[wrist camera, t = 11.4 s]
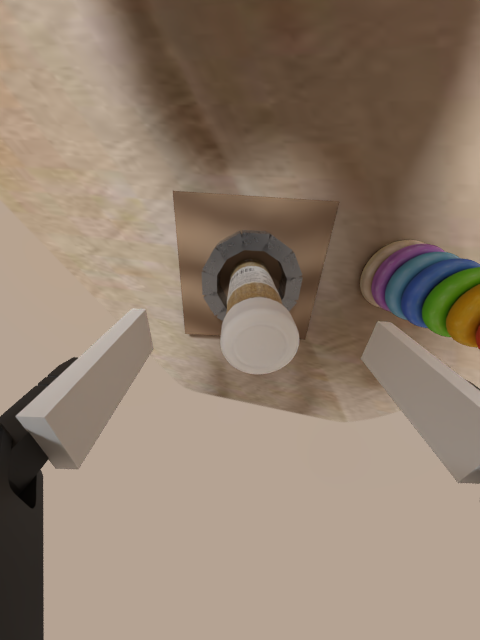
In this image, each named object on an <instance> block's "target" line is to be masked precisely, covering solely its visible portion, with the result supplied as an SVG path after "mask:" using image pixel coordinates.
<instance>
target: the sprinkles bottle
mask: <svg viewBox="0 0 480 640" xmlns="http://www.w3.org/2000/svg"><path fill="white" fill-rule="evenodd" d="M220 346H221V350H222V353H223V355H224V357H225V359H226V360H227V361H228V362H229V364H231V365H232V366H233V367H234V368H236V369H238V370H240V371H242V372H245V373H249V374H268V373H271V372H274V371H277V370H279V369H281V368H283V367H284V366H286V365H287V364H288V363H289V362H290V361H291V360H292V359H293V357H294V356H295V354H296V352H297V350H298V347H299V333H298V329H297V327H296V324H295V322H294V320H293V318H292V316H291V314H290V313H289V311H288V310H287V309H286V308H285V307H284V306H283V304H282V301H281V298H280V295H279V293H278V291H277V289H276V287H275V285H274V283H273V280H272V278H271V276H270V275H269V271H268V268H267V267H266V266H265V264H264V263H262V262H261V261H259V260H256V259H245V260H242V261H240V262H238V263H237V264H236V265H235V266H234V268H233V270H232V272H231V275H230V284H229V290H228V297H227V312H226V316H225V318H224V320H223V323H222V329H221V339H220Z"/></svg>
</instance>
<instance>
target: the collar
mask: <svg viewBox="0 0 480 640" xmlns="http://www.w3.org/2000/svg"><path fill="white" fill-rule="evenodd" d="M244 250H251V251H265V252H266V253H268V254H269V255H271V256H272V257H273V258H275V259H276V260H277V261H278V263H279V266H280V268H281V271H282V274H281V281H280V287H279V289H278V290H277V291H278V293H279V295H280V298H281V301H282V304H283V306H284V307H285V308H286V309H287V310H288V311H290V310H291V309H292V308H293V306H294V305H295V304H296V303H297V302H296V300H298V298H299V293H300V289H301V284H302V279H303V278H302V272H301V269H300V267H299V264H298V261H297V259H296V256H295V253H294V252H293V250H292V249H290V248H289V247H288V246H286V245H285V244H284V243H282V242H281V241H280V240H278V239H277V238H276V237H274V236H273V235H271V234H270V233H269V232H268V233H267V232H266V231H255V230H242V234H241V232H240V231H238V232H236V233H234V234H232V235H231V236H229V237H227V238H225V239H223V240H222V241H220V242H219V243H218V244H217V245H216V247H215V248H214V250H213V251H212V253H211V255H210V257H209V259H208V260H207V262H206V264H205V266H204V267H203V269H202V270H203V271H202V295H204V297H203V298H204V300H205V301H206V303H207V304H208V306H209V307H210V309H211V311H212V312H213V314H214V315H217V318H219V319H220V320H222V321H223V320H224V318H225V316H226V312H227V296H226V294H225V293H224V291H223V289H222V287H221V286H220V270H221V268H222V267H223V265H224V263H225V262H226V260H227V259H229V258H230V257H232V256H234V255H236V254H238V253H240V252H242V251H244Z"/></svg>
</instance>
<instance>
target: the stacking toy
mask: <svg viewBox="0 0 480 640" xmlns="http://www.w3.org/2000/svg"><path fill="white" fill-rule="evenodd" d="M360 288H361V292H362V294H363V296H364V298H365V299H366V300H367V301H368V302H369V303H371V304H372V305H374V306H377V307H380V308H383V309H385V310H387V311H390V312H392V313H393V314H394V315H396V316H397V317H399V318H402V319H405V320H408V321H410V322H411V323H413V324H414V325H417V326H420V327H424V328H429V329H430V330H431V331H433V332H434V333H436V334H439V335H441V336H446V337H452V338H453V339H454V340H455V341H457V342H459V343H461V344H463V345H466V346H470V347H478V348H479V349H480V264H478V263H476V262H475V261H472V260H468V259H461V258H459V257H458V256H456V255H454V254H451V253H448V252H445V251H444V250H442V249H441V248H439V247H437V246H435V245H430V244H425V243H423V242H421V241H417V240H401V241H396V242H393V243H391V244H389V245H387V246H385V247H383V248H382V249H380V250H379V251H378V252H376V253H375V254H374V255H373V256H372V257H371V258H370V260H369V261H368V262H367V264H366V266H365V267H364V269H363V272H362V275H361V279H360Z"/></svg>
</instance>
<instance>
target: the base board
mask: <svg viewBox="0 0 480 640" xmlns="http://www.w3.org/2000/svg"><path fill="white" fill-rule="evenodd" d="M173 199H174V210H175V222H176V233H177V245H178V256H179V268H180V279H181V290H182V302H183V313H184V325H185V334H202V335H221V329H222V323H223V321H222V320H220V319H219V318H217V315H214V314H213V312H212V311H211V309H210V307H209V306H208V304H207V303H206V301H205V300H204V298H203V297H204V295H202V271H203V270H202V269H203V267H204V266H205V264H206V262H207V260H208V259H209V257H210V255H211V253H212V251H213V250H214V248H215V247H216V245H217V244H218V243H219V242H220V241H222V240H223V239H225V238H227V237H229V236H231V235H232V234H234V233H236V232H238V231H240V232H241V234H242V230H255V231H266V232H267V233H268V232H269V233H270V234H271V235H273V236H274V237H276V238H277V239H278V240H280V241H281V242H282V243H284V244H285V245H286V246H288V247H289V248H290V249H292V250H293V252H294V253H295V256H296V259H297V261H298V264H299V267H300V269H301V272H302V278H303V279H302V284H301V289H300V293H299V298H298V300H296V302H297V303H296V304H295V305H294V306H293V308H292V309H291V310H290V311H289V313H290V314H291V316H292V318H293V320H294V322H295V324H296V327H297V329H298V333H299V339H305V337H306V333H307V329H308V325H309V321H310V317H311V313H312V309H313V305H314V301H315V297H316V293H317V289H318V285H319V281H320V277H321V273H322V269H323V265H324V261H325V257H326V253H327V249H328V245H329V241H330V237H331V233H332V229H333V225H334V221H335V217H336V213H337V209H338V205H339V202H337V201H322V200H306V199H291V198H275V197H259V196H244V195H228V194H213V193H197V192H181V191H173ZM245 259H256V260H259V261H261V262H262V263H264V264H265V266H266V267H267V268H268V271H269V275H270V276H271V278H272V280H273V283H274V285H275V287H276V289H277V290H278V289H279V287H280V281H281V274H282V271H281V268H280V266H279V263H278V261H277V260H276V259H275V258H273V257H272V256H271V255H269V254H268V253H266V252H265V251H251V250H244V251H242V252H240V253H238V254H236V255H234V256H232V257H230V258H229V259H227V260H226V262H225V263H224V265H223V267H222V268H221V270H220V286H221V287H222V289H223V291H224V293H225V294H226V296H227V297H228V290H229V284H230V275H231V272H232V270H233V268H234V266H235V265H236V264H237V263H238V262H240V261H242V260H245Z"/></svg>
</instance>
